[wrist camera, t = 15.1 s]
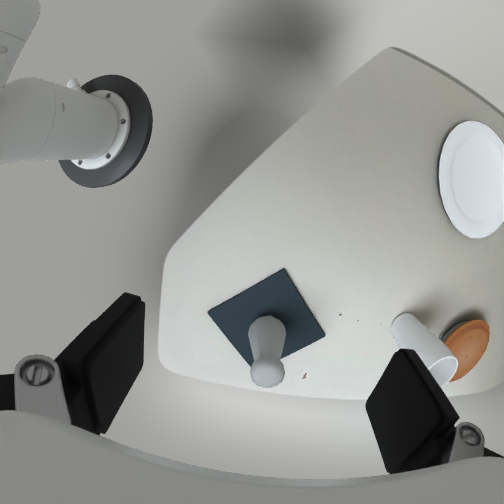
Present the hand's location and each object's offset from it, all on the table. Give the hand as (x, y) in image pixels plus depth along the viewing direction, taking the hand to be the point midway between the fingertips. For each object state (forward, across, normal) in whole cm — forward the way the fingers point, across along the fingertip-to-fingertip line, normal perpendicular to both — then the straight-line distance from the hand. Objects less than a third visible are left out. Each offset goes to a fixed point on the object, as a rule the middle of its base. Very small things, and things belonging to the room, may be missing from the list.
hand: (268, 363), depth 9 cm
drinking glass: (+32, -28, +13) cm, 45 cm away
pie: (+32, -45, +16) cm, 58 cm away
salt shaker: (+32, -4, +17) cm, 36 cm away
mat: (+32, -4, +17) cm, 37 cm away
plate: (+32, -35, -16) cm, 50 cm away
